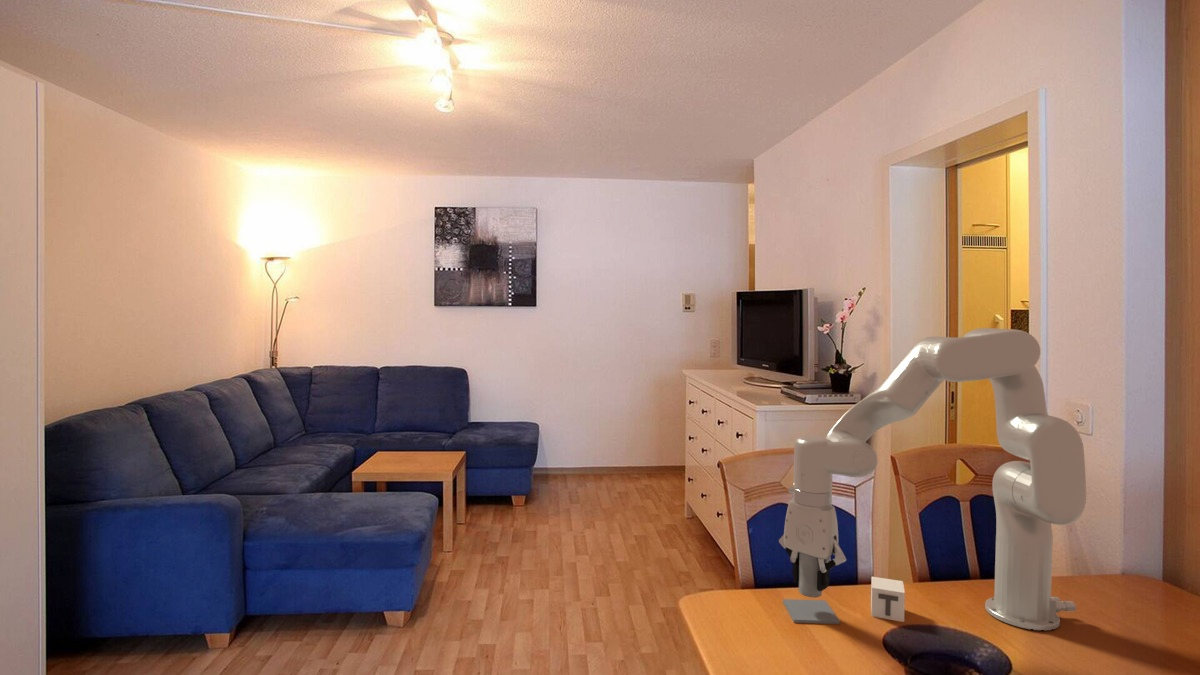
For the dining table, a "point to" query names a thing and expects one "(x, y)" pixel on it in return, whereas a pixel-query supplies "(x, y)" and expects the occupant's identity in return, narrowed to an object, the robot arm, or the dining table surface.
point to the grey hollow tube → (808, 575)
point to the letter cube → (887, 599)
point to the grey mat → (810, 611)
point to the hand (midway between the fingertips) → (810, 583)
